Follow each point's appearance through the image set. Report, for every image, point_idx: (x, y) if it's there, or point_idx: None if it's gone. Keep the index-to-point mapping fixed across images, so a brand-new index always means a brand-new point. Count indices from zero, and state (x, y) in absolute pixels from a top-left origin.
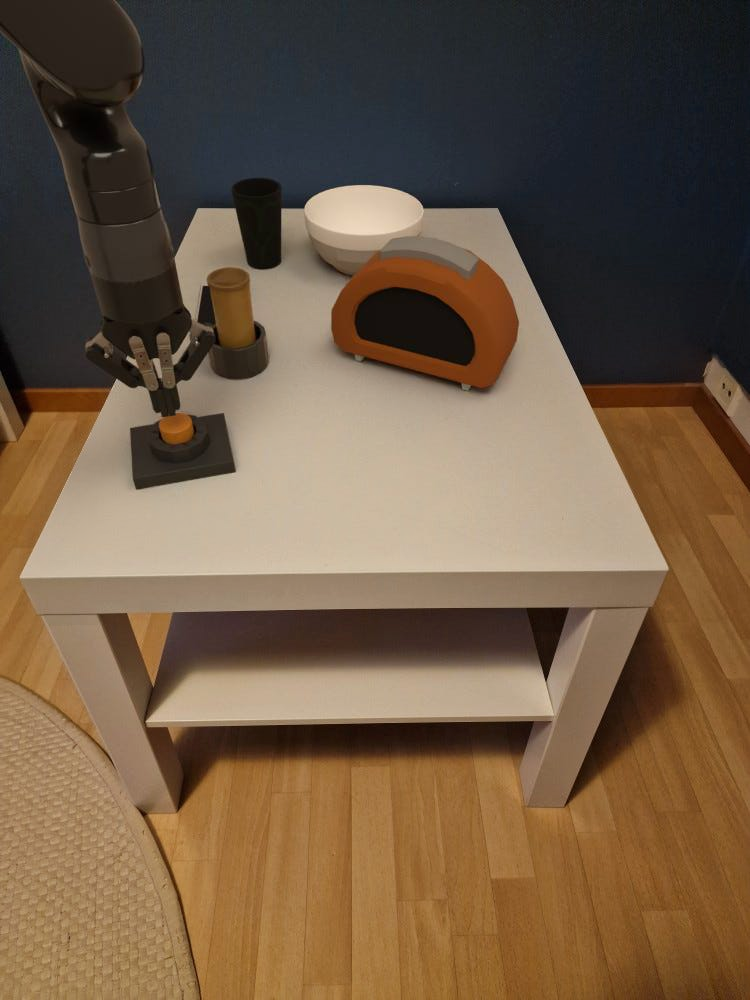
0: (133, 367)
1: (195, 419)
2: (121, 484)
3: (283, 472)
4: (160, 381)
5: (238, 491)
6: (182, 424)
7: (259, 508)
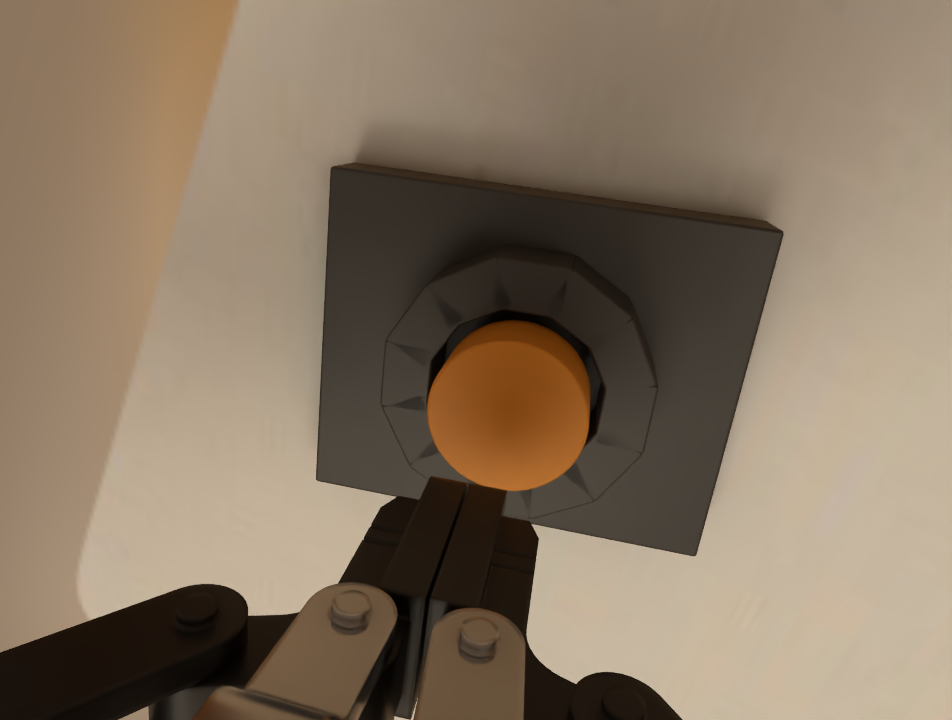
0: (190, 681)
1: (619, 344)
2: (290, 407)
3: (858, 600)
4: (416, 634)
5: (662, 608)
6: (536, 450)
7: (698, 700)
